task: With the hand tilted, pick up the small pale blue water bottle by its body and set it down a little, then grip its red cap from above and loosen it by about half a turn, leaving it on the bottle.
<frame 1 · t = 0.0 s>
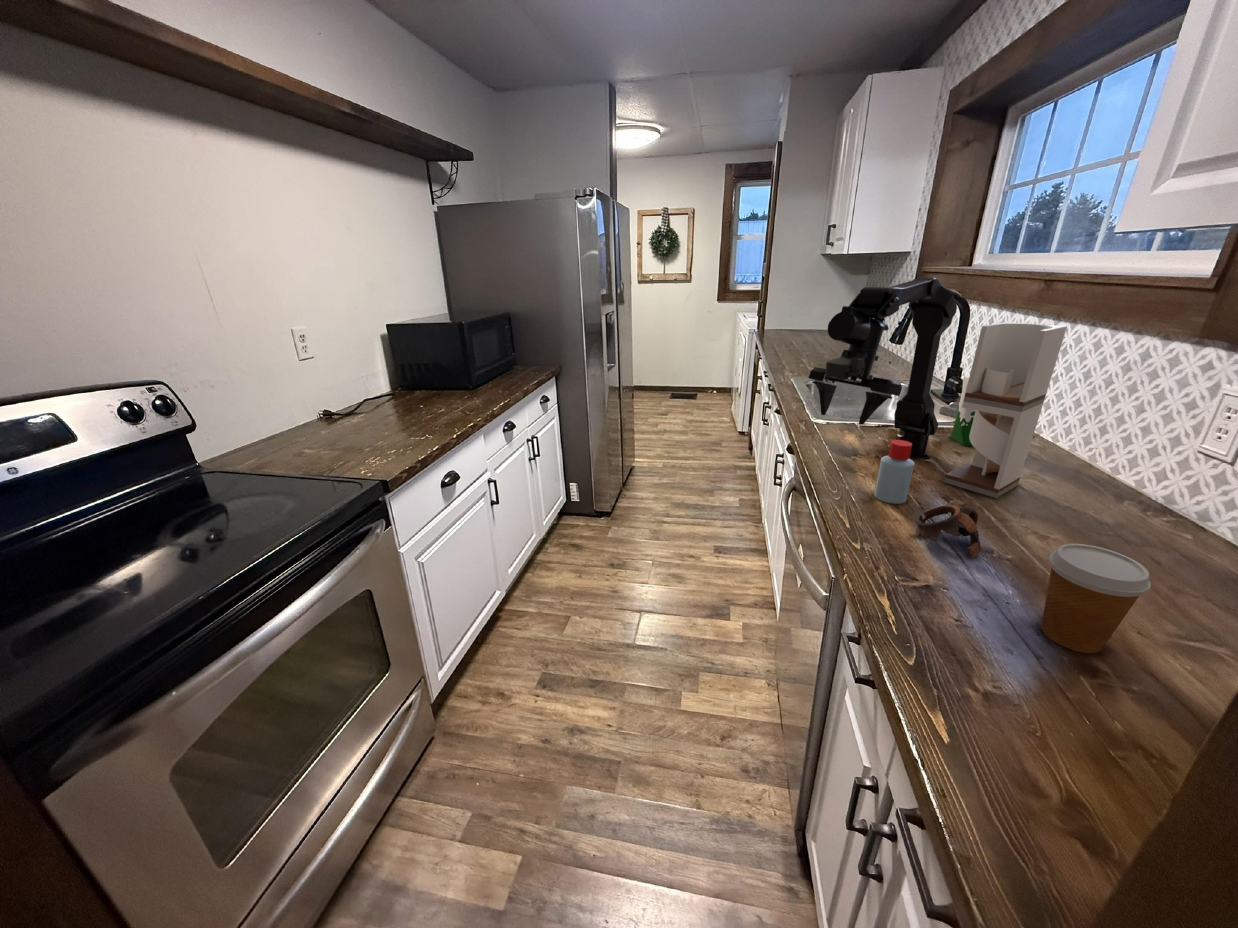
hand: (841, 419, 109), 15 cm above the worktop, tool pointing down, fingers open, 9 cm apart
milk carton: (969, 442, 139), on the worktop
bottle: (890, 497, 107), on the worktop
disposable coffee cup: (1070, 637, 67), on the worktop
pottery mug: (948, 544, 89), on the worktop
white tower frame: (979, 484, 113), on the worktop
cap: (900, 445, 103), point 12 cm above the worktop, screwed on, not yet turned
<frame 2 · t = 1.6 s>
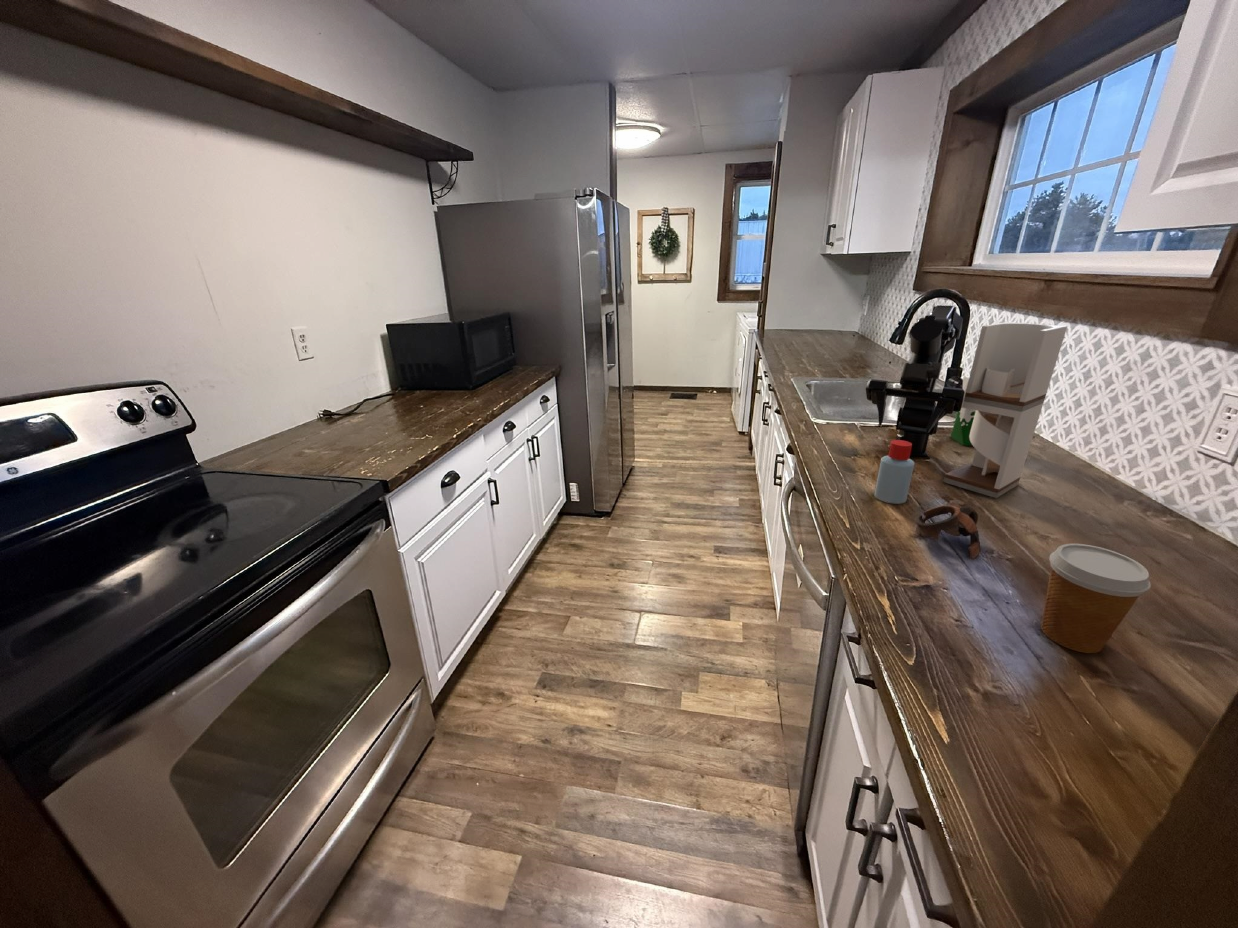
hand: (902, 428, 108), 14 cm above the worktop, tool tilted 40°, fingers open, 9 cm apart
nothing on the worktop moved.
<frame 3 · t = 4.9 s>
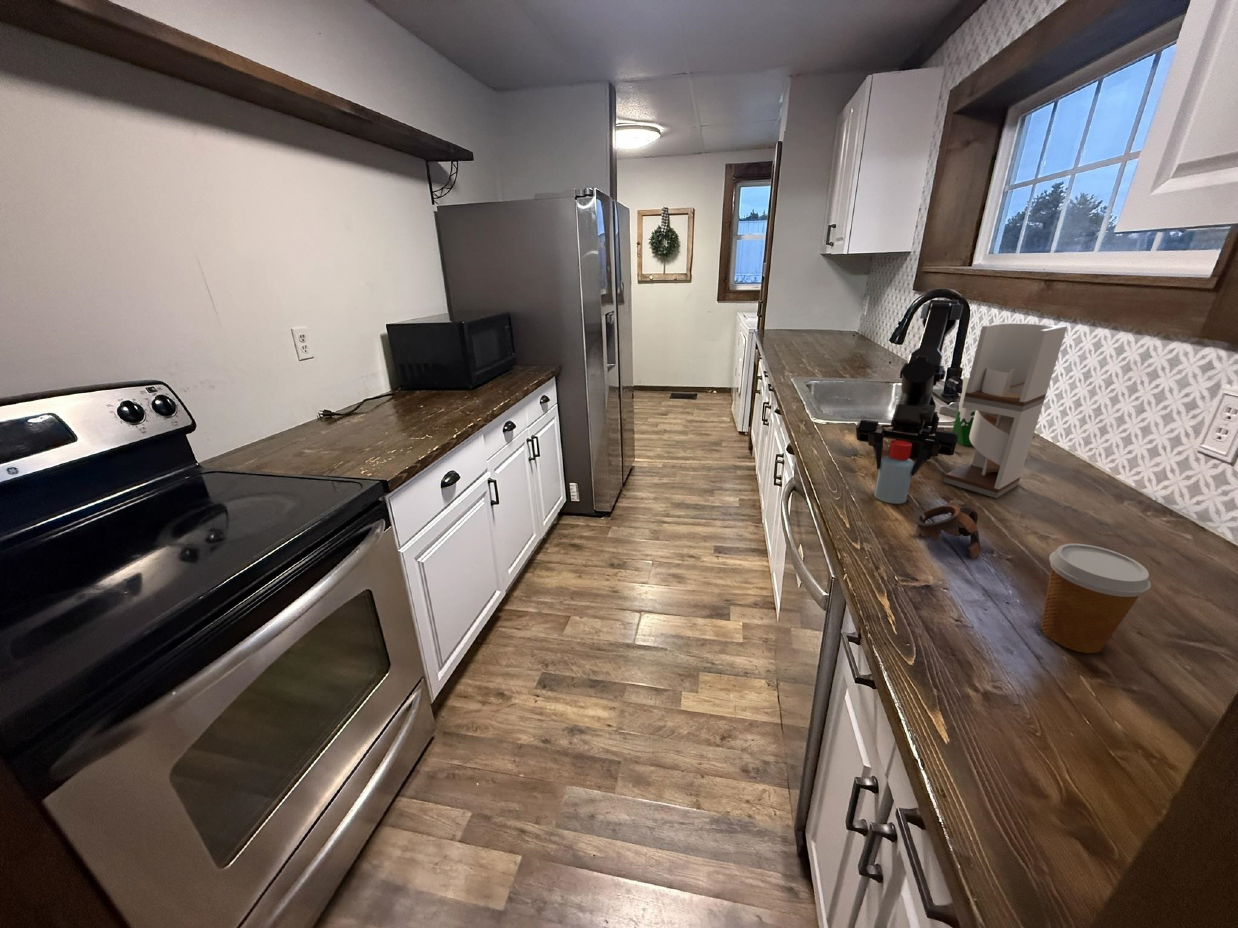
hand: (894, 471, 104), 7 cm above the worktop, tool tilted 45°, fingers closed on bottle, 6 cm apart
bottle: (890, 497, 107), on the worktop, touching gripper
everything else where it was.
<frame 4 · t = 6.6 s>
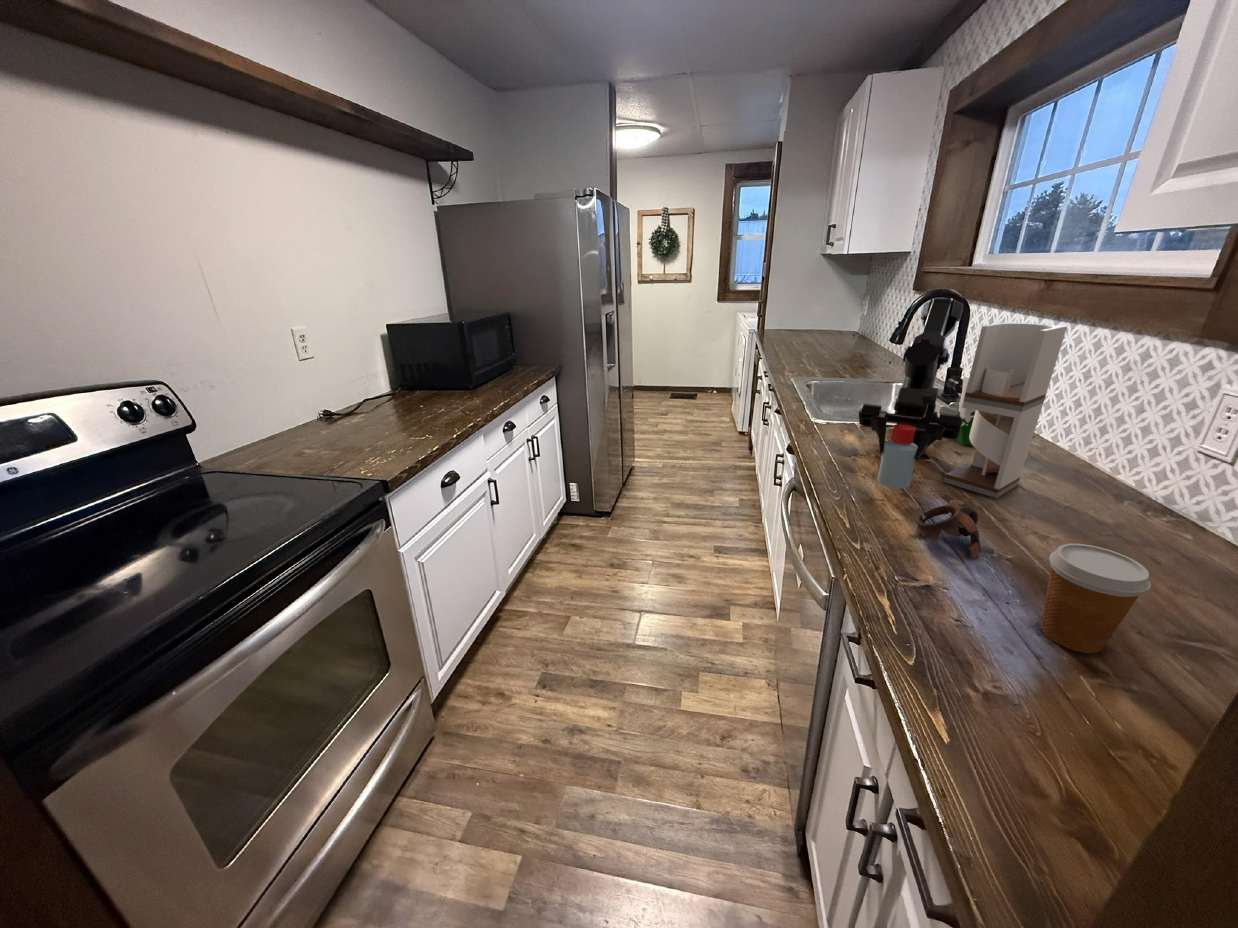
hand: (898, 456, 103), 10 cm above the worktop, tool tilted 45°, fingers closed on bottle, 6 cm apart
bottle: (893, 482, 106), point 3 cm above the worktop, touching gripper
cap: (904, 429, 101), point 16 cm above the worktop, screwed on, not yet turned
everything else where it was.
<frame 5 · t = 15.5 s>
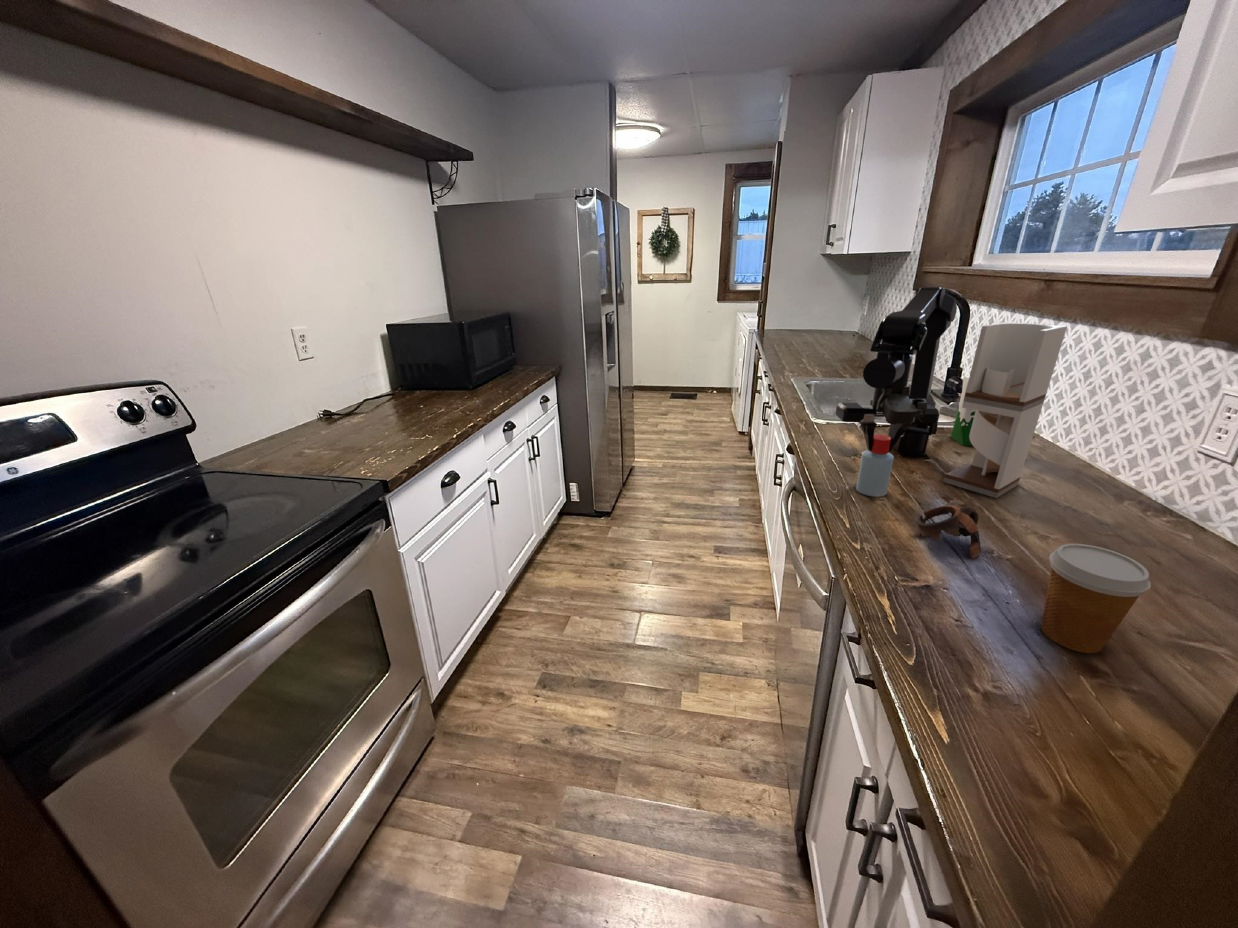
hand: (878, 450, 107), 10 cm above the worktop, tool pointing down, fingers closed on cap, 4 cm apart
bottle: (871, 490, 110), on the worktop
cap: (880, 439, 106), point 12 cm above the worktop, screwed on, not yet turned, touching gripper
everything else where it was.
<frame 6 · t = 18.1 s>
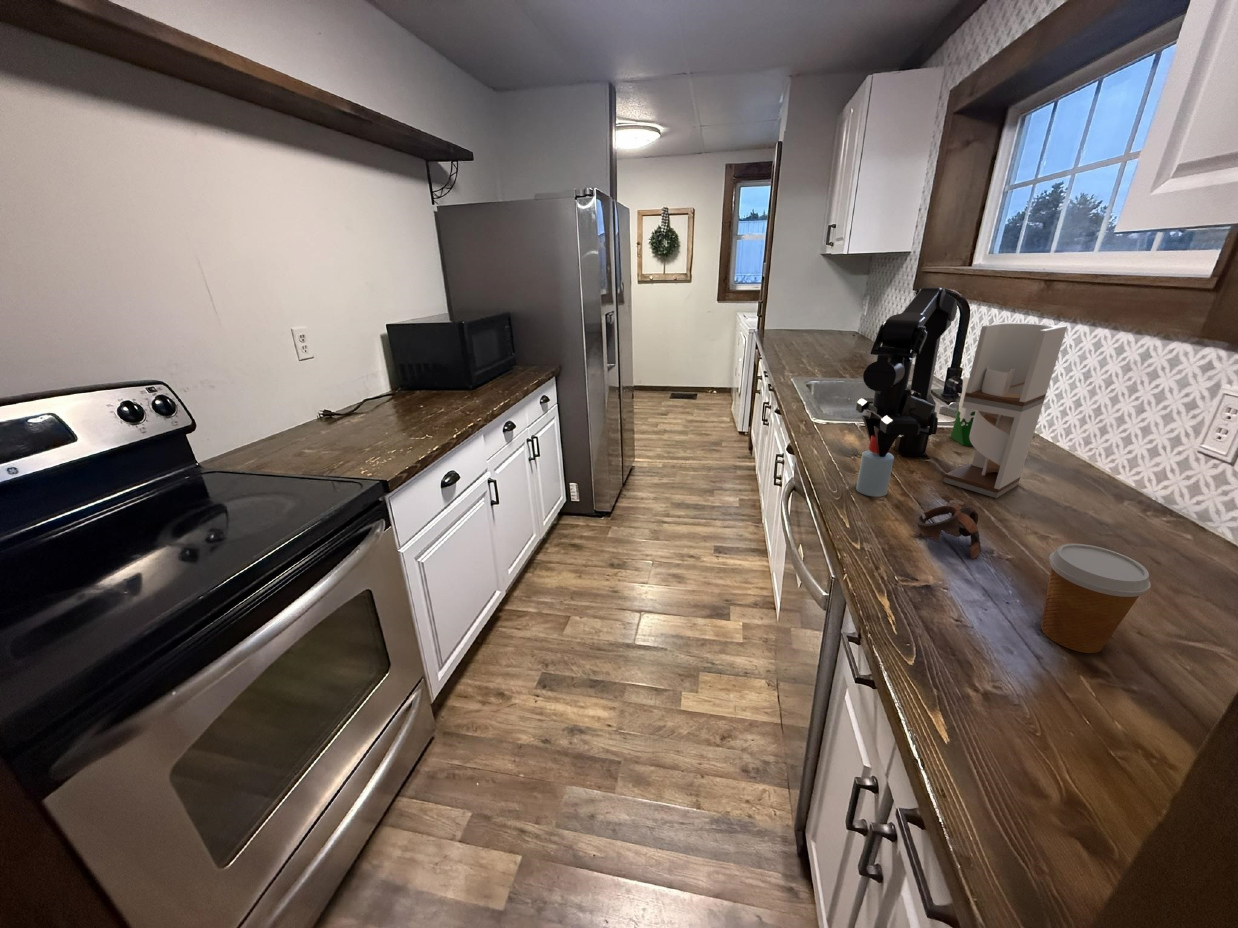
hand: (878, 453, 107), 9 cm above the worktop, tool pointing down, fingers closed on cap, 4 cm apart
bottle: (871, 490, 110), on the worktop, touching gripper
cap: (881, 439, 106), point 12 cm above the worktop, turned 91° so far, risen 0.1 cm, still on its thread, touching gripper
everything else where it was.
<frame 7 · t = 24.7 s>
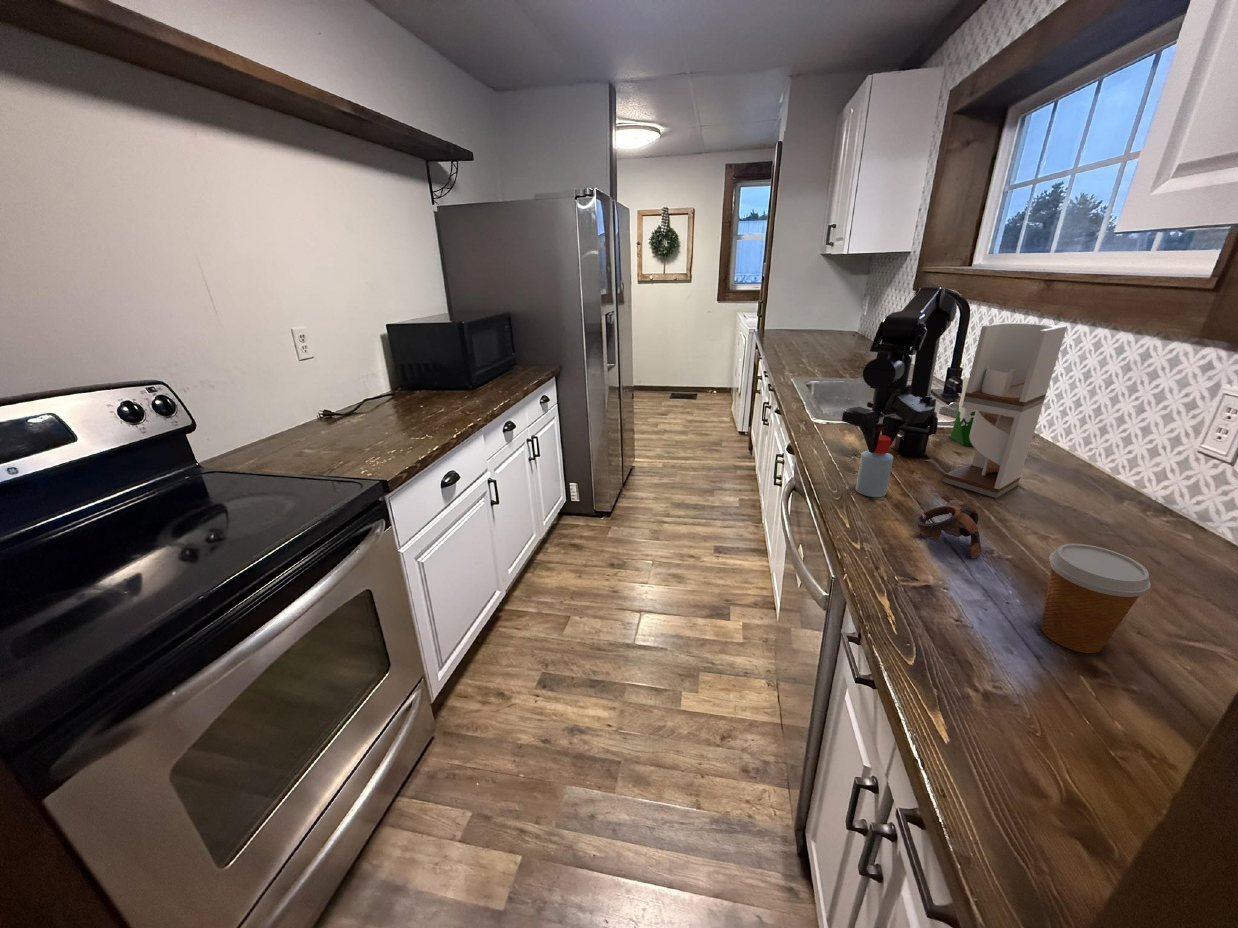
hand: (878, 451, 107), 10 cm above the worktop, tool pointing down, fingers closed on cap, 4 cm apart
bottle: (870, 491, 110), on the worktop
cap: (880, 439, 106), point 12 cm above the worktop, turned 120° so far, risen 0.1 cm, still on its thread, touching gripper
everything else where it was.
when the fingers open (10 cm above the worktop, at t = 25.4 s): cap stays where it is, point 12 cm above the worktop.
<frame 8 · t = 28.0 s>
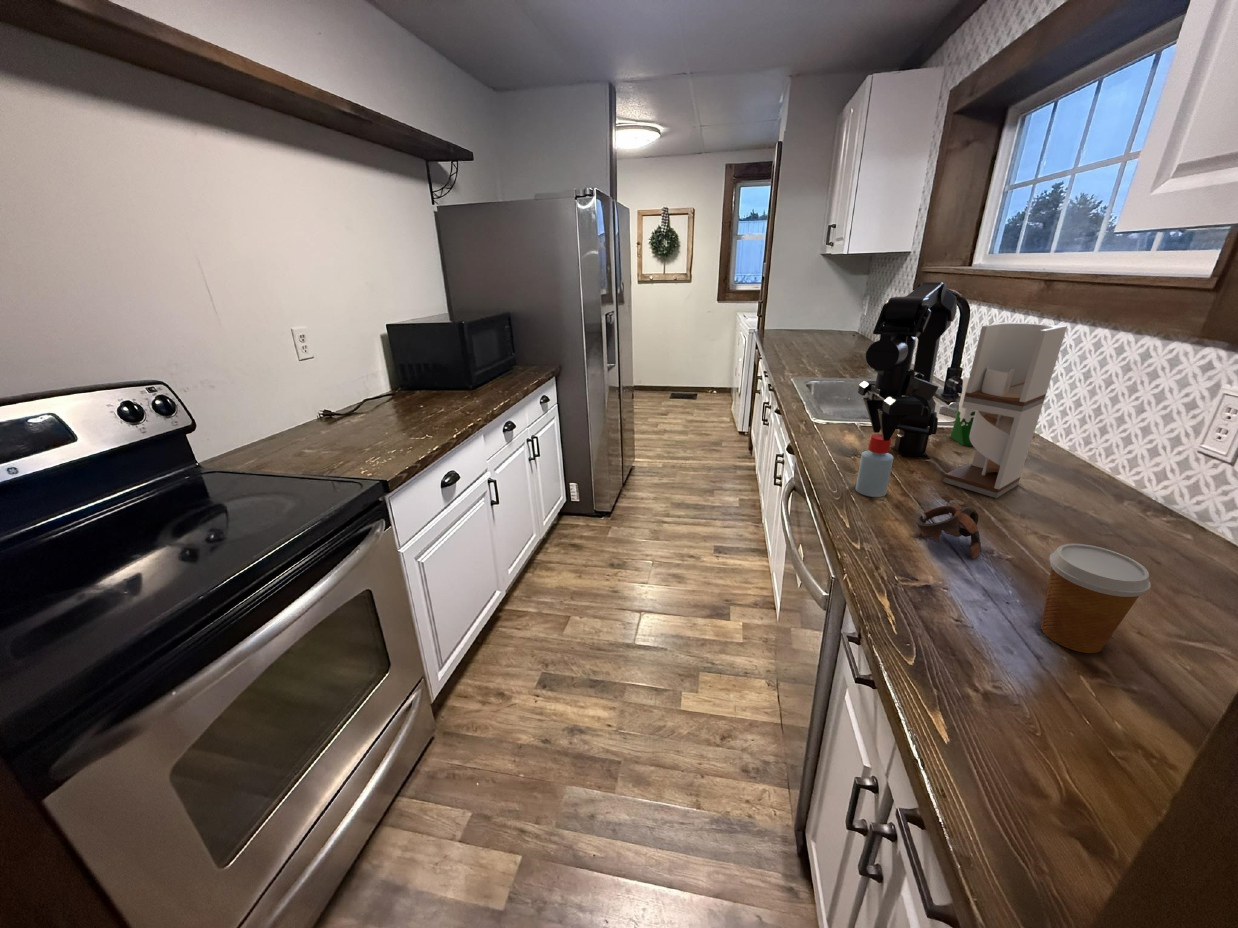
hand: (881, 436, 105), 13 cm above the worktop, tool pointing down, fingers open, 5 cm apart
cap: (880, 439, 106), point 12 cm above the worktop, turned 180° so far, risen 0.2 cm, still on its thread
everything else where it was.
at the end: bottle 0.1 cm from the target spot, on the worktop; cap turned 0.50 turns (still on its thread); cap is still on its thread (0.50 turns) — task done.
